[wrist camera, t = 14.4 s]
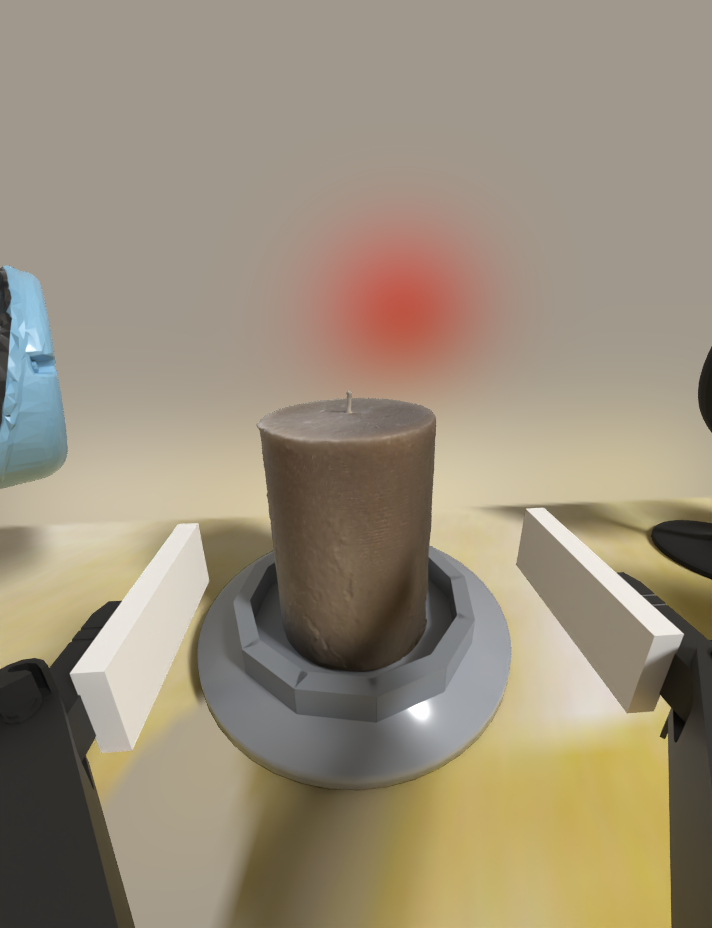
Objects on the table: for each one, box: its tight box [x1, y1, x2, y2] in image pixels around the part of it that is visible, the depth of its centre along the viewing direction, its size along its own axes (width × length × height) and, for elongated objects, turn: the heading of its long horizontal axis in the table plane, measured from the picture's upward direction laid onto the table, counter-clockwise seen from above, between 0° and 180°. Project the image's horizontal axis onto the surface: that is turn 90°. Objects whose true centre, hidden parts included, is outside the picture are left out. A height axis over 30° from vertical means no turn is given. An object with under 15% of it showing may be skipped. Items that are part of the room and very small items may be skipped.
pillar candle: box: [257, 391, 436, 672], centre depth 23 cm, size 10×10×15 cm
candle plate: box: [197, 546, 511, 790], centre depth 26 cm, size 20×20×3 cm
